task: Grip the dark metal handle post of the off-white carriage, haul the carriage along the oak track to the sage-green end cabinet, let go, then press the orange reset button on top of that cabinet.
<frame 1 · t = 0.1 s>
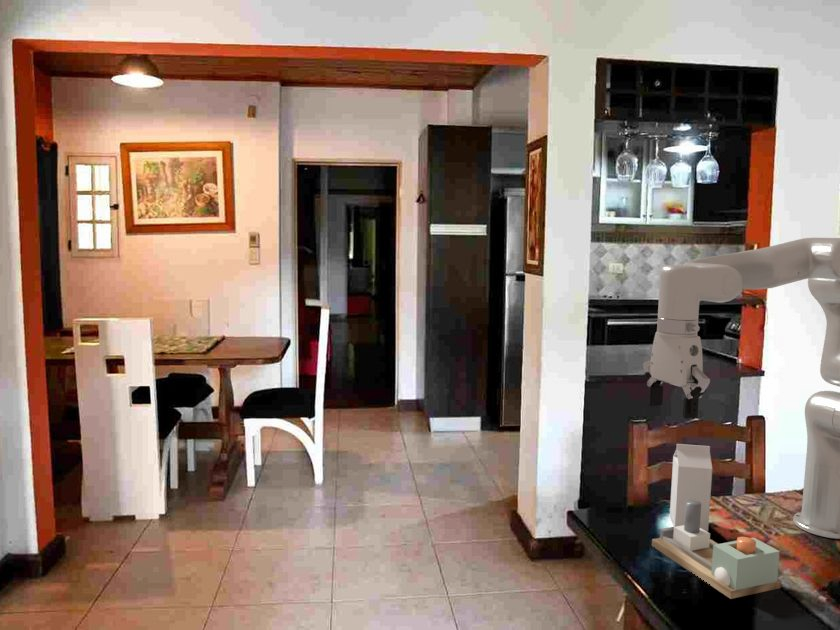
hand: (672, 411, 134), 31 cm above the table, tool pointing down, fingers open, 9 cm apart
track: (712, 565, 134), on the table
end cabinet: (743, 585, 127), resting on track
milk carton: (688, 525, 153), on the table
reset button: (746, 548, 126), point 8 cm above the table, slide at 0.0 cm
carriage: (692, 523, 139), point 6 cm above the table, slide at 1.9 cm
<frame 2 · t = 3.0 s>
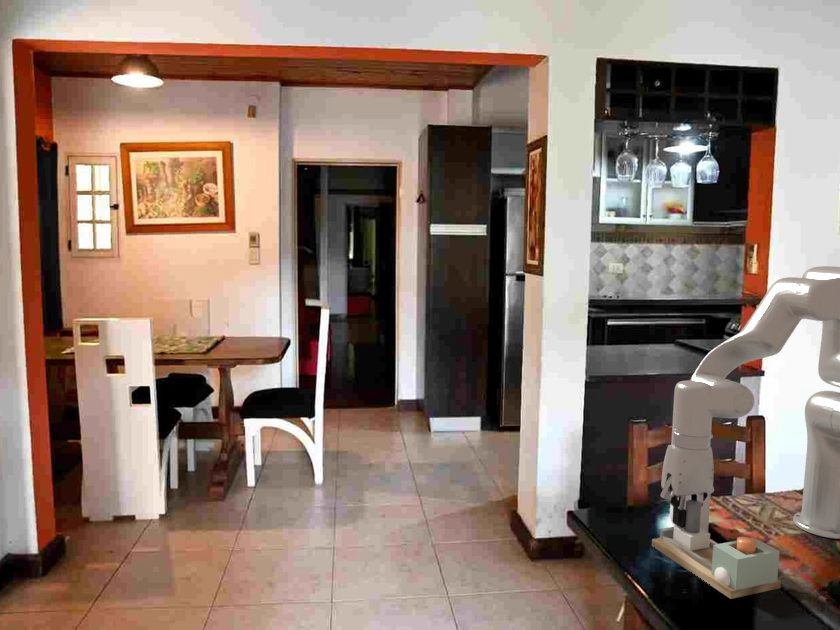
hand: (685, 523, 141), 6 cm above the table, tool pointing down, fingers closed on carriage, 3 cm apart
carriage: (692, 523, 139), point 6 cm above the table, slide at 1.9 cm, touching gripper
everything else where it was.
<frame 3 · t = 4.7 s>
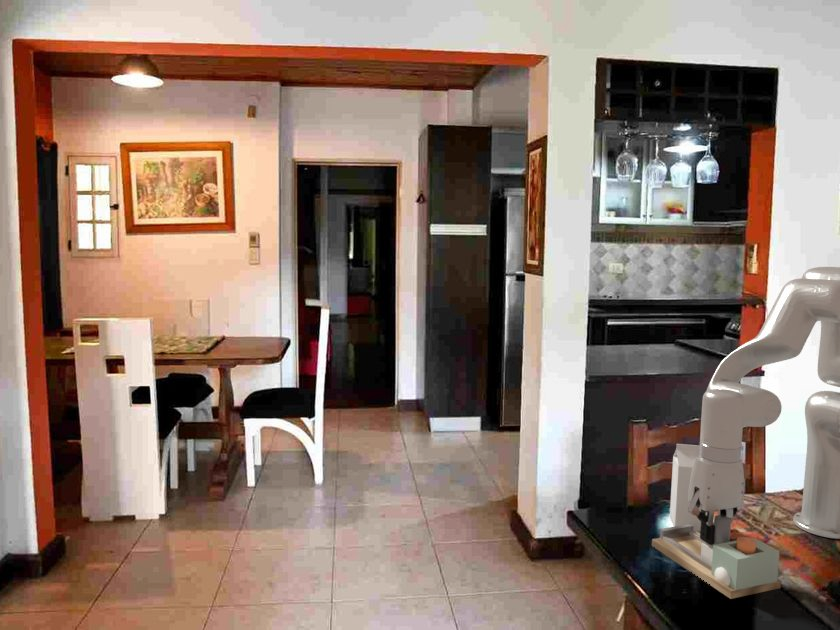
hand: (714, 539, 133), 6 cm above the table, tool pointing down, fingers closed on carriage, 3 cm apart
carriage: (721, 540, 132), point 6 cm above the table, slide at 9.9 cm, touching gripper
everything else where it was.
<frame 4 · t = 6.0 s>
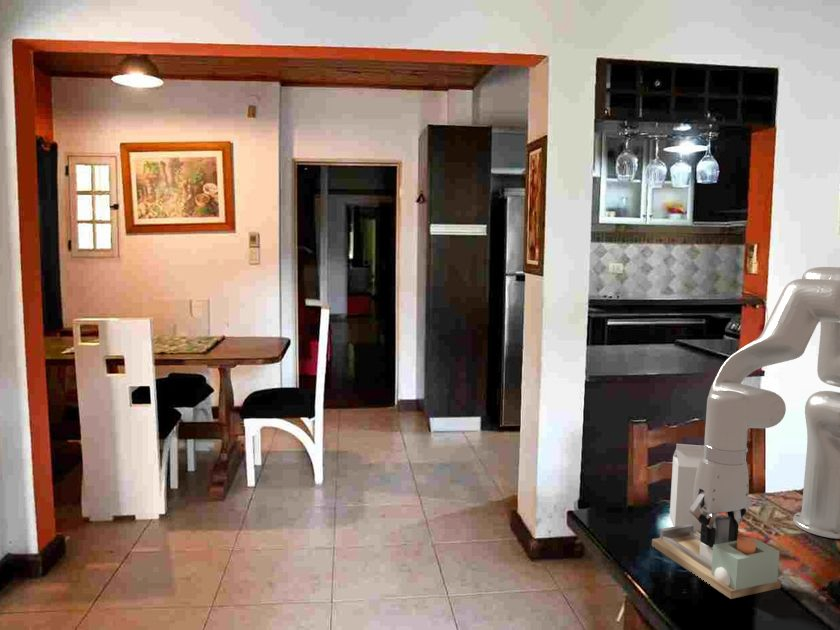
hand: (718, 541, 132), 6 cm above the table, tool pointing down, fingers open, 5 cm apart
carriage: (719, 539, 132), point 6 cm above the table, slide at 9.5 cm
everything else where it was.
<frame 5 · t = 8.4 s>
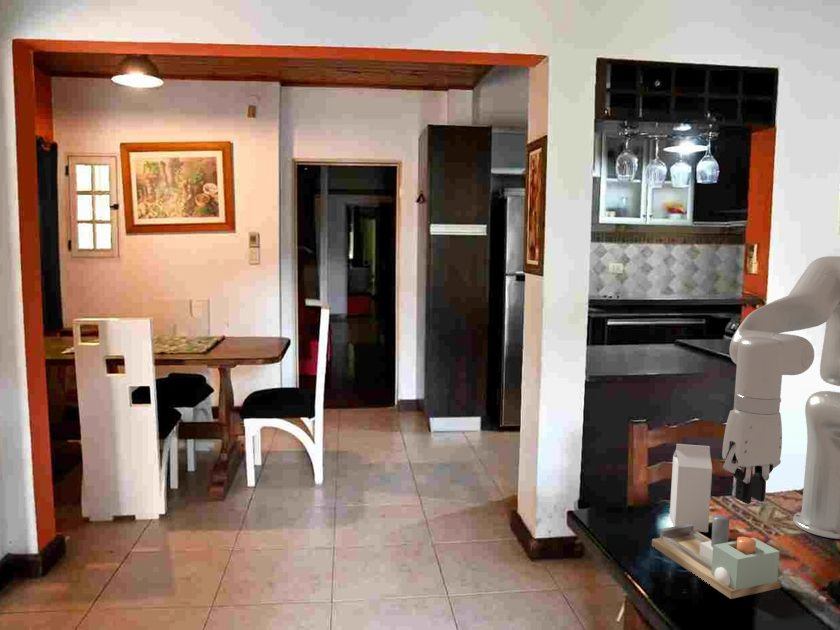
hand: (749, 499, 125), 17 cm above the table, tool pointing down, fingers closed
nothing on the table moved.
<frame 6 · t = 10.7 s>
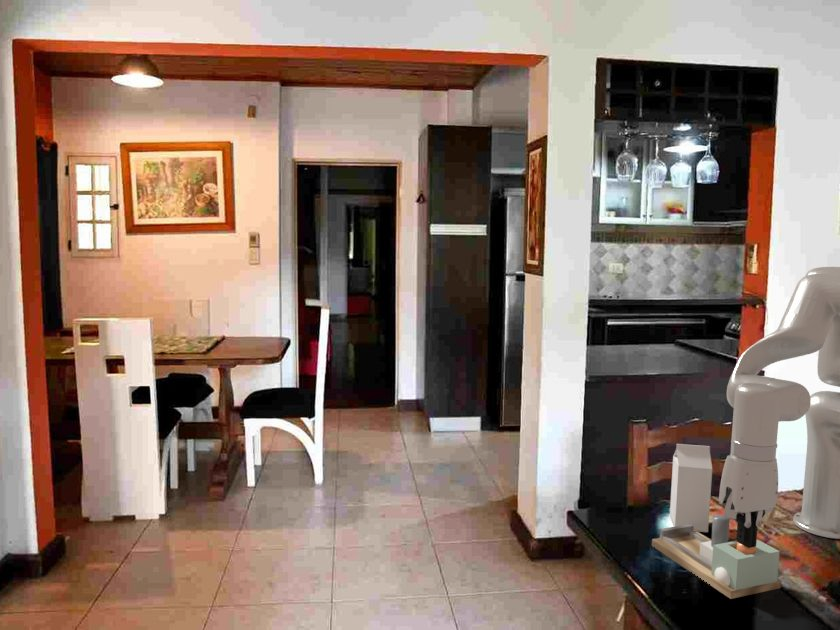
hand: (746, 544, 126), 8 cm above the table, tool pointing down, fingers closed
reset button: (745, 551, 126), point 7 cm above the table, slide at 0.7 cm, touching gripper
everything else where it was.
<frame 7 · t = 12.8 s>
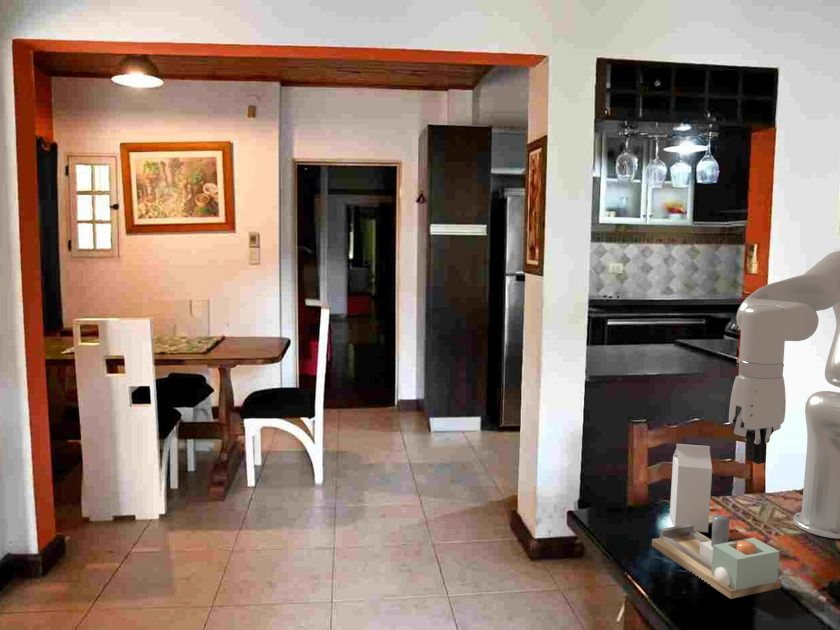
hand: (755, 461, 130), 22 cm above the table, tool pointing down, fingers closed
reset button: (745, 552, 126), point 7 cm above the table, slide at 0.8 cm
everything else where it was.
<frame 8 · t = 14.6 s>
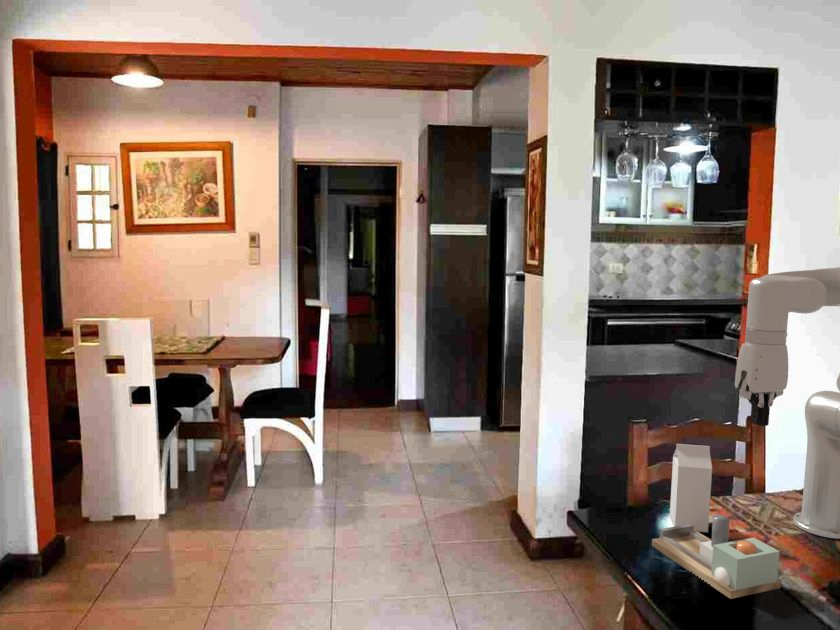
hand: (759, 424, 139), 27 cm above the table, tool pointing down, fingers closed
nothing on the table moved.
at the end: carriage slide at 9.5 cm; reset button slide at 0.8 cm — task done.
